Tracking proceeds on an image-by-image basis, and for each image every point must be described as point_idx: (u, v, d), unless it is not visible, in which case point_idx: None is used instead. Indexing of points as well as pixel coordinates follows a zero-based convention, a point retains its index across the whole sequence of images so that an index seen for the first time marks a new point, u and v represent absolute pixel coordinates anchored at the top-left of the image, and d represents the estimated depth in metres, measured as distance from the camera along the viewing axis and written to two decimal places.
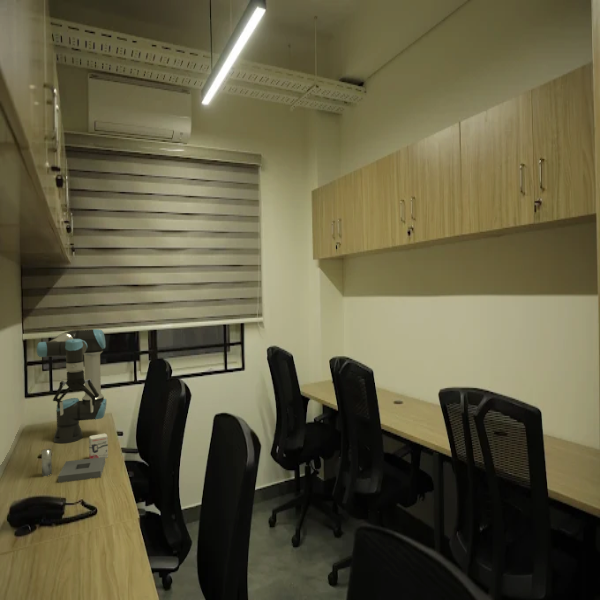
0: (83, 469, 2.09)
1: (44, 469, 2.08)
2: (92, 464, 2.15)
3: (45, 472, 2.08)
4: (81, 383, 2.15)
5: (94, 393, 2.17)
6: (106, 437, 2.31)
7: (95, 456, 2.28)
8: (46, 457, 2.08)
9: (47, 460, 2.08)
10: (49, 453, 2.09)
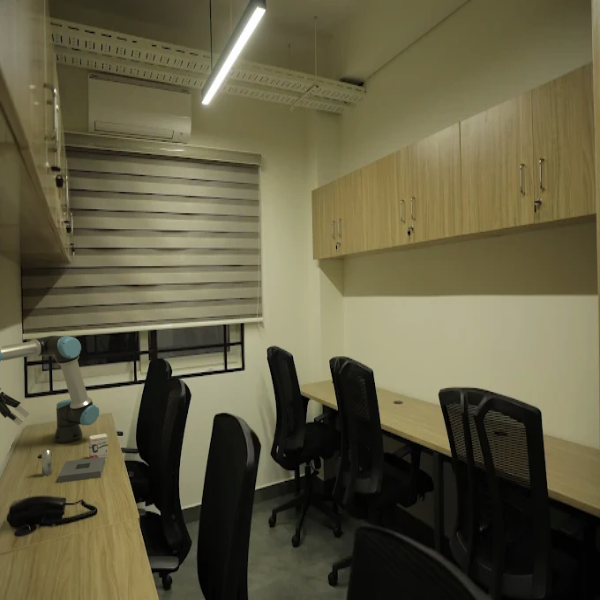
0: (83, 469, 2.09)
1: (44, 469, 2.08)
2: (92, 464, 2.15)
3: (45, 472, 2.08)
4: None
5: (1, 412, 1.96)
6: (106, 437, 2.31)
7: (95, 456, 2.28)
8: (46, 457, 2.08)
9: (47, 460, 2.08)
10: (49, 453, 2.09)
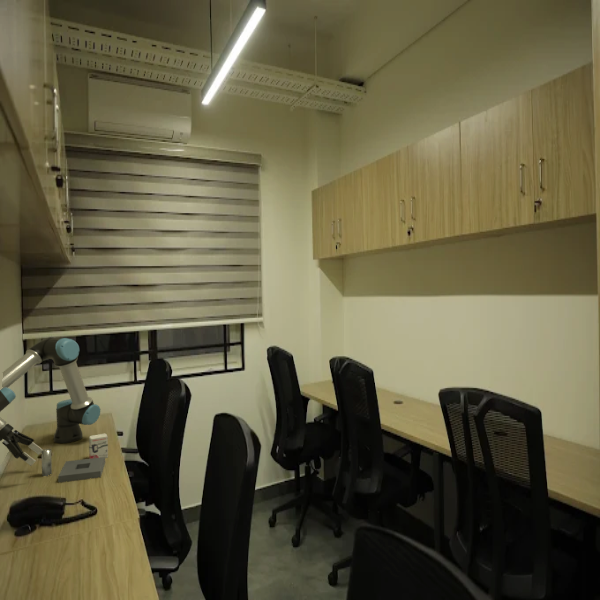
0: (83, 469, 2.09)
1: (44, 469, 2.08)
2: (92, 464, 2.15)
3: (45, 472, 2.08)
4: None
5: (13, 453, 1.98)
6: (106, 437, 2.31)
7: (95, 456, 2.28)
8: (46, 457, 2.08)
9: (47, 460, 2.08)
10: (49, 453, 2.09)
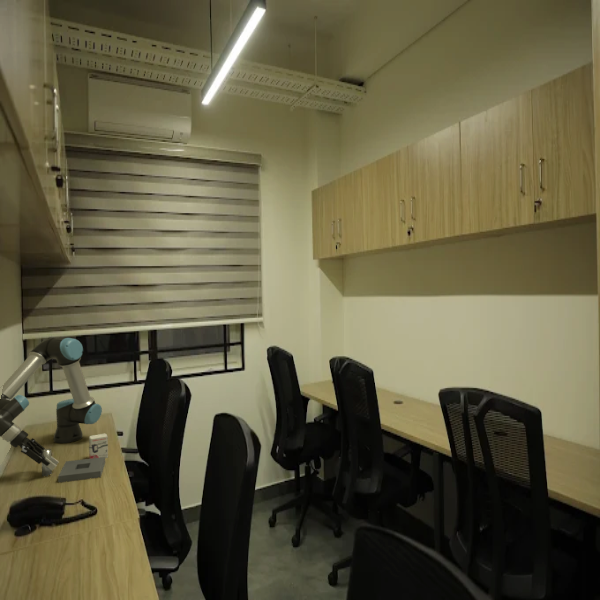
0: (83, 469, 2.09)
1: (44, 469, 2.08)
2: (92, 464, 2.15)
3: (45, 472, 2.08)
4: None
5: (34, 459, 2.04)
6: (106, 437, 2.31)
7: (95, 456, 2.28)
8: (46, 457, 2.08)
9: None
10: (49, 453, 2.09)
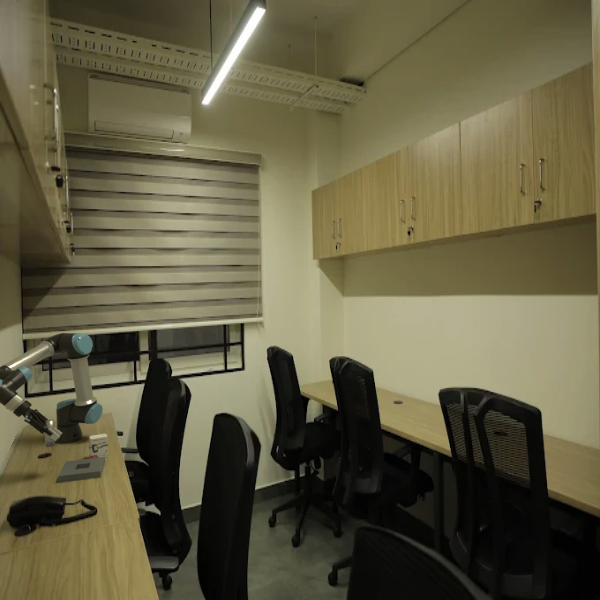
0: (83, 469, 2.09)
1: (47, 440, 2.08)
2: (92, 464, 2.15)
3: (48, 442, 2.08)
4: None
5: None
6: (106, 437, 2.31)
7: (95, 456, 2.28)
8: None
9: None
10: (52, 423, 2.09)
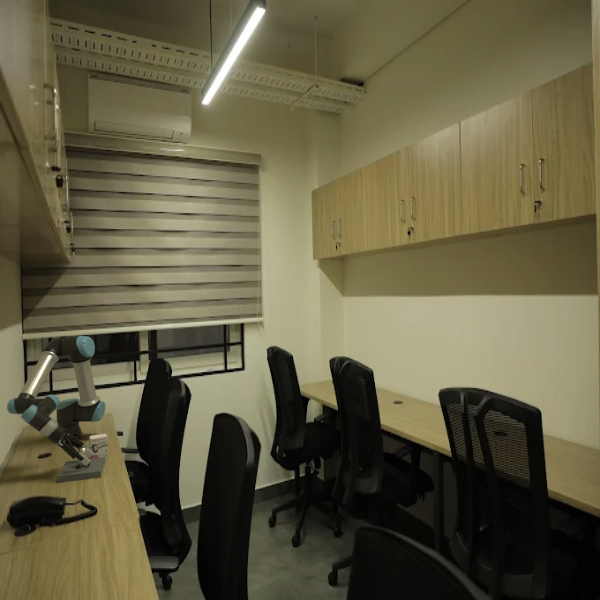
0: (83, 469, 2.09)
1: (80, 467, 2.11)
2: (92, 464, 2.15)
3: None
4: None
5: (69, 454, 2.05)
6: (106, 437, 2.31)
7: (95, 456, 2.28)
8: None
9: None
10: (85, 451, 2.12)
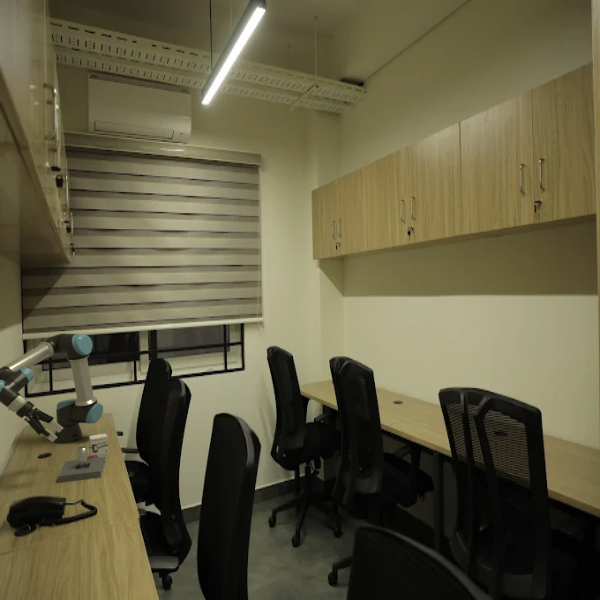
0: (83, 469, 2.09)
1: (80, 467, 2.11)
2: (92, 464, 2.15)
3: None
4: None
5: (35, 430, 1.99)
6: (106, 437, 2.31)
7: (95, 456, 2.28)
8: (82, 455, 2.11)
9: (83, 458, 2.11)
10: (85, 451, 2.12)
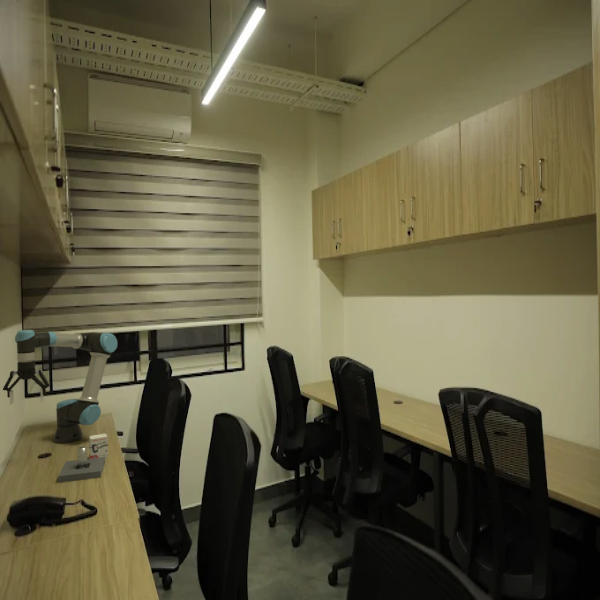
0: (83, 469, 2.09)
1: (80, 467, 2.11)
2: (92, 464, 2.15)
3: None
4: None
5: None
6: (106, 437, 2.31)
7: (95, 456, 2.28)
8: (82, 455, 2.11)
9: (83, 458, 2.11)
10: (85, 451, 2.12)
